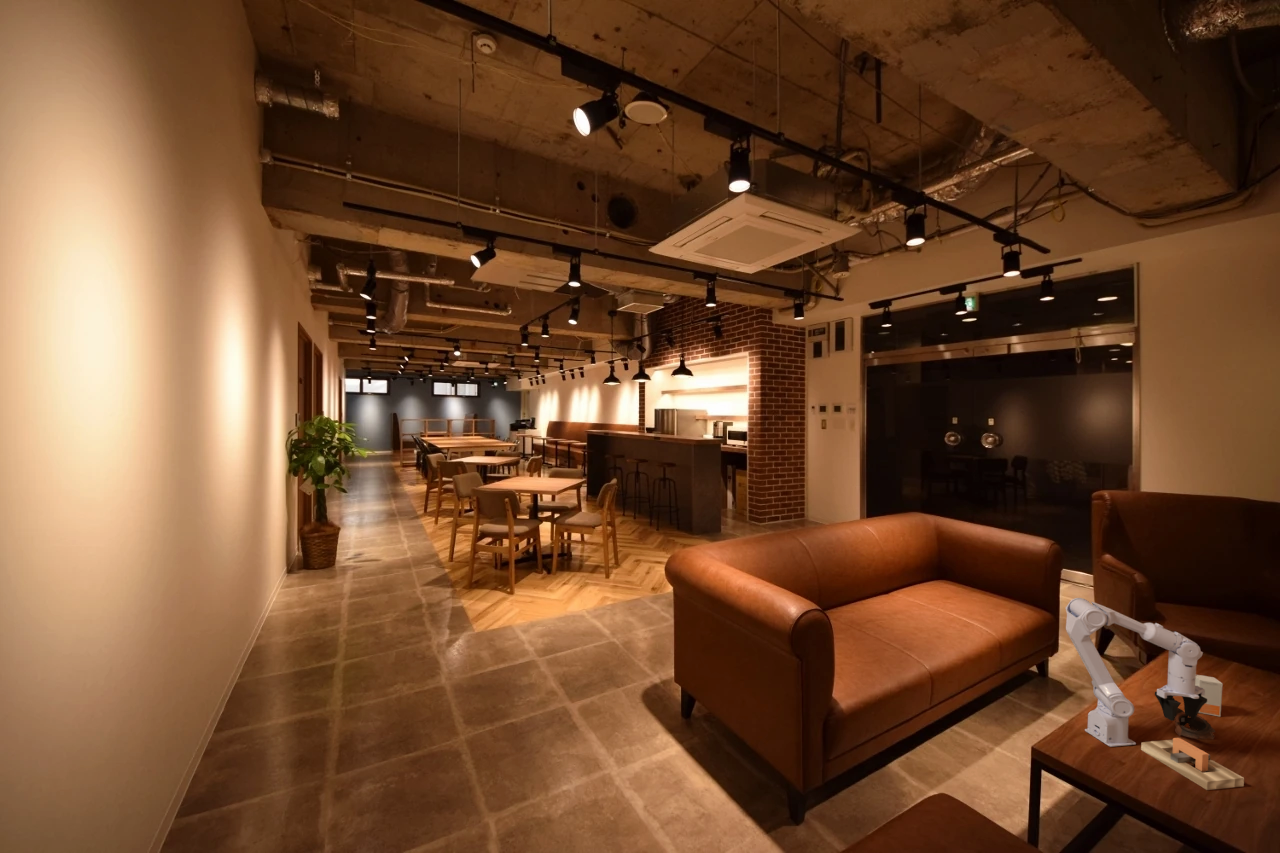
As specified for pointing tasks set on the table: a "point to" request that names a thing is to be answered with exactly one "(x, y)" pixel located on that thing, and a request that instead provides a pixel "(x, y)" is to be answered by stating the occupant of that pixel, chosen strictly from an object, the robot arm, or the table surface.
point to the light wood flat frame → (1208, 780)
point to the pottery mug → (1193, 726)
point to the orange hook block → (1191, 753)
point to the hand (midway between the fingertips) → (1179, 718)
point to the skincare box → (1210, 694)
